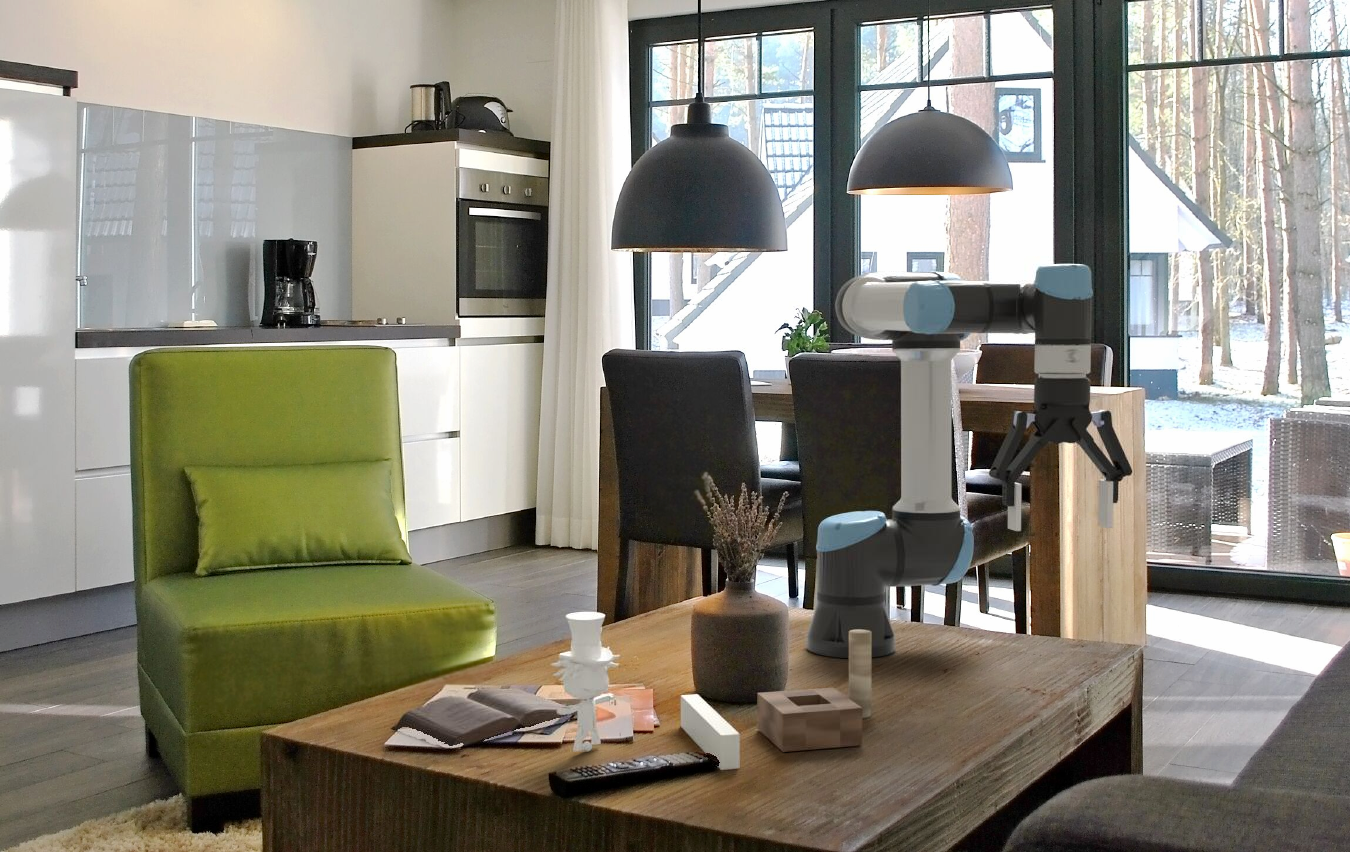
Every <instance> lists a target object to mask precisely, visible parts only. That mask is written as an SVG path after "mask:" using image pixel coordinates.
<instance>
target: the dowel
mask: <svg viewBox="0 0 1350 852" xmlns="http://www.w3.org/2000/svg"><path fill="white" fill-rule="evenodd" d="M871 646H872V632H871V631H869V630H861V629H857V630H850V631H849V658H848V698H849V699H850V700H852V701H853V702H855V703H856V704H857V705H859V706H860V707H862V719H863V718H864V719H865V718H870V717H871V716H872V657H871Z"/></svg>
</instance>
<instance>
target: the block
mask: <svg viewBox="0 0 1350 852" xmlns="http://www.w3.org/2000/svg"><path fill="white" fill-rule="evenodd" d="M756 696H757V697H756V698H757V700H756V702H757V704H756V707H757V708H756V710H757V712H756V714H757V715H756V716H757V717H756V719H757V720H756V723H757V724H756V725H757V730H758V731H759V732H761V734H762V735H764V736H765V737H766V738H767V739H768V740H770V742H771V743H772V744H774V745H775V746H776V747H777V748H778V749H779V750H781V752H783V753H785V752H797V751H809V750H820V749H832V748H833V749H834V748H844V747H857V746H863V718H862V707H860V706H859V705H857V704H856V703H855V702H853V701H852V700H850V699H849V697H847V696H846V695H845V694H843V693H841V692H840V691H839V690H837V689H835V688H834V687H833V686H832V687H821V688H820V687H818V688H808V689H806V688H805V689H793V690H778V691H768V692H765V691H764V692H757V693H756Z"/></svg>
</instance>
